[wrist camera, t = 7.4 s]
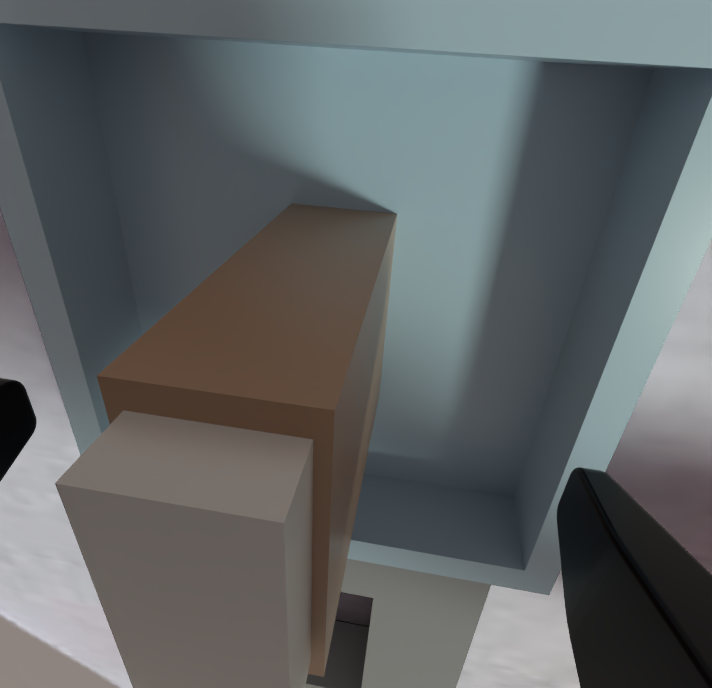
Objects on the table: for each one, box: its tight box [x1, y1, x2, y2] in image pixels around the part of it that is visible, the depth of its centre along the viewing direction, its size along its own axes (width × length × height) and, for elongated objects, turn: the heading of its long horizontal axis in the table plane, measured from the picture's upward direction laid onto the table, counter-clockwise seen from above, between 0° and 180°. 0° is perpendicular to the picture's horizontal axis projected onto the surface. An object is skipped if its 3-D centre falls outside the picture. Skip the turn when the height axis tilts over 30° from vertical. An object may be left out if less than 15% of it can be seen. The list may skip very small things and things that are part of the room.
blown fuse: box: [55, 203, 397, 688], centre depth 8 cm, size 2×5×8 cm, turn 177°
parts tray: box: [0, 0, 712, 595], centre depth 11 cm, size 13×13×3 cm
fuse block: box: [305, 559, 491, 688], centre depth 19 cm, size 10×18×2 cm, turn 177°
